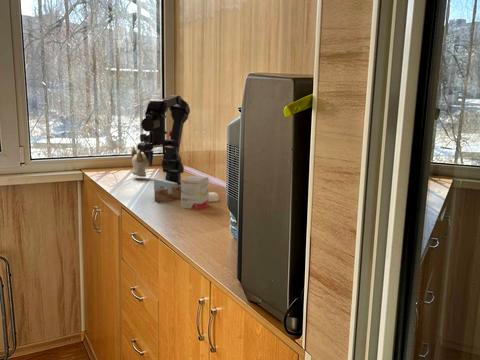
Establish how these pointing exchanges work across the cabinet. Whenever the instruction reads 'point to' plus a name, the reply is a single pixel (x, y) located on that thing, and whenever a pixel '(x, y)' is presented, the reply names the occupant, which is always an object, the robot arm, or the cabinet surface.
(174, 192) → the brown boxy piece
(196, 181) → the ink box
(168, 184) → the light blue block
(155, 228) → the cabinet surface
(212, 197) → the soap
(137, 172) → the ceramic sculpture
